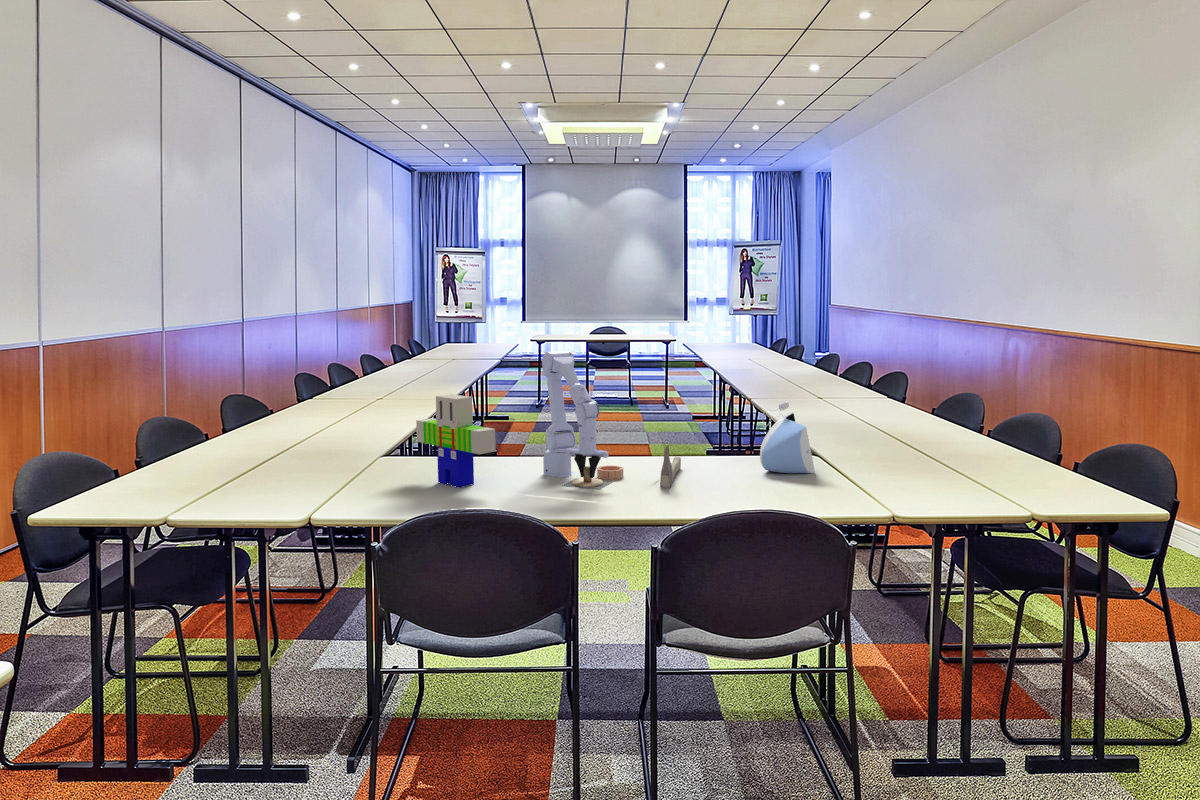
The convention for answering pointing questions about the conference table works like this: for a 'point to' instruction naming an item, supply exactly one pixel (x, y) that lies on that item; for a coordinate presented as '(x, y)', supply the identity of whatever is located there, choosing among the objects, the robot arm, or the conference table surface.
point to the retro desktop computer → (786, 446)
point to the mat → (589, 487)
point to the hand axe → (669, 469)
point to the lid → (587, 479)
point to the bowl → (610, 472)
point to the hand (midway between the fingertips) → (587, 477)
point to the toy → (455, 439)
